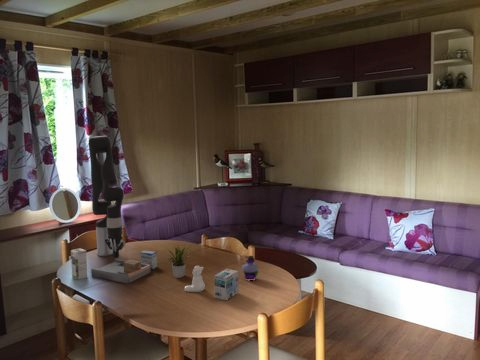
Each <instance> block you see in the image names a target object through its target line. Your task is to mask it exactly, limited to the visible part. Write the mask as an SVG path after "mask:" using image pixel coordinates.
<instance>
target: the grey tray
mask: <svg viewBox="0 0 480 360" xmlns="http://www.w3.org/2000/svg"><path fill="white" fill-rule="evenodd" d="M126 261H127V260H125V259H121V258H120V259H119V258H114V261H113V262H110V263H108V264H106V265H103V266H101V267H98V268H92V267H91V268H90V270H91V274H90V275H91V277H92V278H93V277H95V278H99V279H103V280H108V281H113V282H119V283H123V284H130V283H132V282H133V281H136V280H138V279H140V278H141V277H144V276H146V275H149V274H150V273H151V272H152V269H151V265H149V264H143V263H141V269H139V270H136V271H134V272H132V273H127V272H124V262H126Z"/></svg>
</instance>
